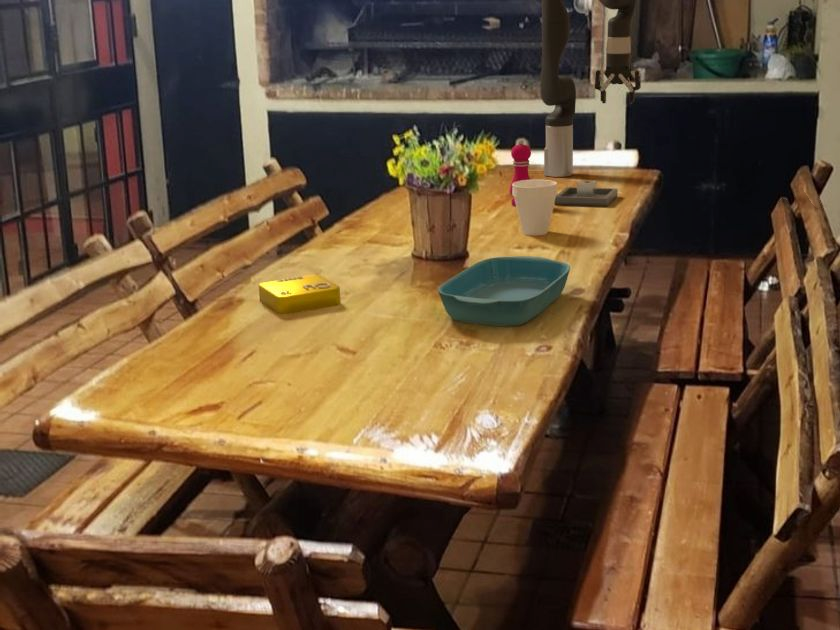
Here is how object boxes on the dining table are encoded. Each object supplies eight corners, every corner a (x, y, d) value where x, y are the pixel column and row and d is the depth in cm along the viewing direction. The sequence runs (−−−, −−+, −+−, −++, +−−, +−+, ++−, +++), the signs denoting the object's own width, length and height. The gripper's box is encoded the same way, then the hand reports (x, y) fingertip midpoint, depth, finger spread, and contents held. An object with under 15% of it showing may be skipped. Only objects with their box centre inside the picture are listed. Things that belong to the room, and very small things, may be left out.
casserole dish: (524, 337, 231) (524, 303, 229) (423, 326, 240) (422, 293, 238) (582, 289, 262) (582, 259, 260) (491, 282, 272) (490, 252, 270)
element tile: (318, 291, 271) (316, 271, 269) (343, 306, 258) (342, 285, 256) (257, 301, 264) (255, 281, 263) (280, 317, 251) (278, 296, 250)
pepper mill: (505, 204, 356) (504, 139, 350) (526, 201, 359) (525, 136, 353) (517, 208, 350) (516, 141, 344) (538, 205, 353) (537, 139, 347)
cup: (555, 238, 311) (555, 187, 307) (510, 237, 313) (509, 187, 309) (559, 227, 322) (559, 179, 318) (515, 227, 325) (514, 179, 321)
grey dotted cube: (576, 199, 355) (576, 183, 353) (580, 196, 359) (580, 180, 358) (593, 200, 353) (593, 183, 352) (596, 196, 357) (596, 180, 356)
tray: (554, 205, 352) (554, 196, 351) (567, 194, 366) (567, 187, 365) (606, 206, 346) (606, 198, 346) (617, 196, 361) (617, 188, 360)
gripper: (643, 50, 366) (641, 102, 371) (599, 50, 371) (598, 101, 376) (638, 52, 359) (637, 105, 364) (593, 52, 364) (592, 104, 369)
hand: (617, 103), depth 370 cm, fingers open, 8 cm apart
